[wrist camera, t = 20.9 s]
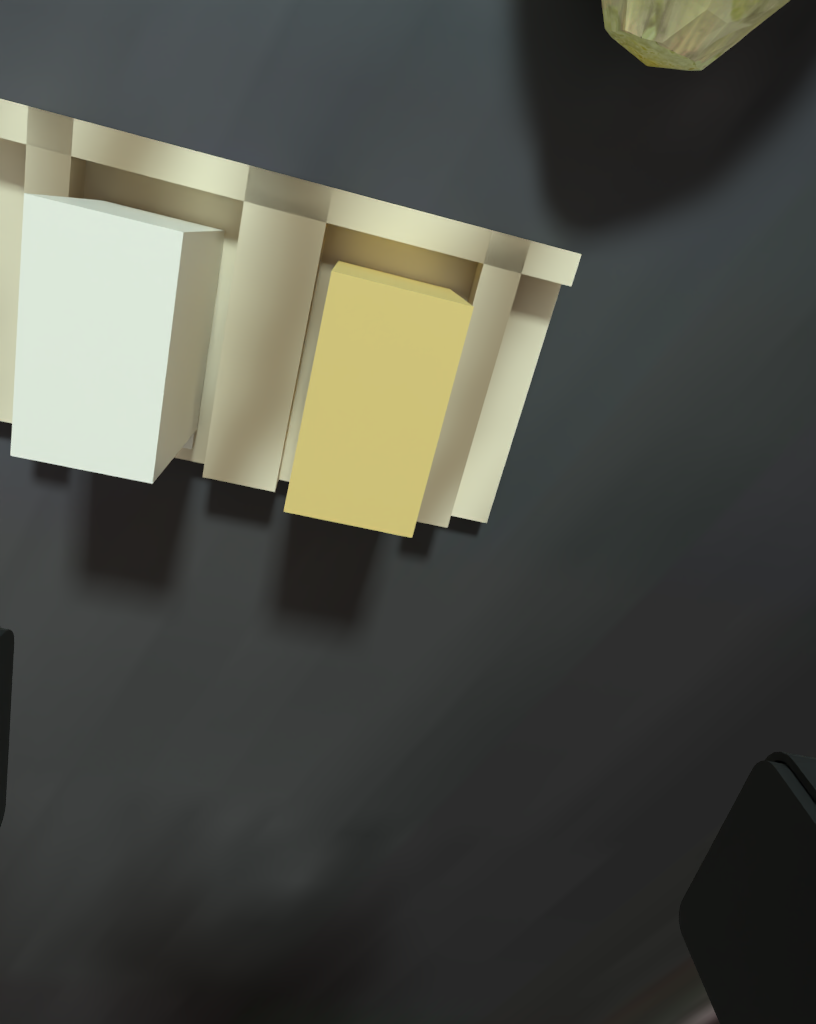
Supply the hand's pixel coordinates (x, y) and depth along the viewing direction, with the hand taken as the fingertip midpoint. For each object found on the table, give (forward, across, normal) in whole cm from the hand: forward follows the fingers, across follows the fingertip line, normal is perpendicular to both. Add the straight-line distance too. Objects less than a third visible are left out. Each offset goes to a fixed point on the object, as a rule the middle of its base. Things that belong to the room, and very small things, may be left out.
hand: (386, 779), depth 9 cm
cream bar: (+23, +9, 0) cm, 25 cm away
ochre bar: (+23, 0, 0) cm, 23 cm away
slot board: (+24, +4, 0) cm, 25 cm away
